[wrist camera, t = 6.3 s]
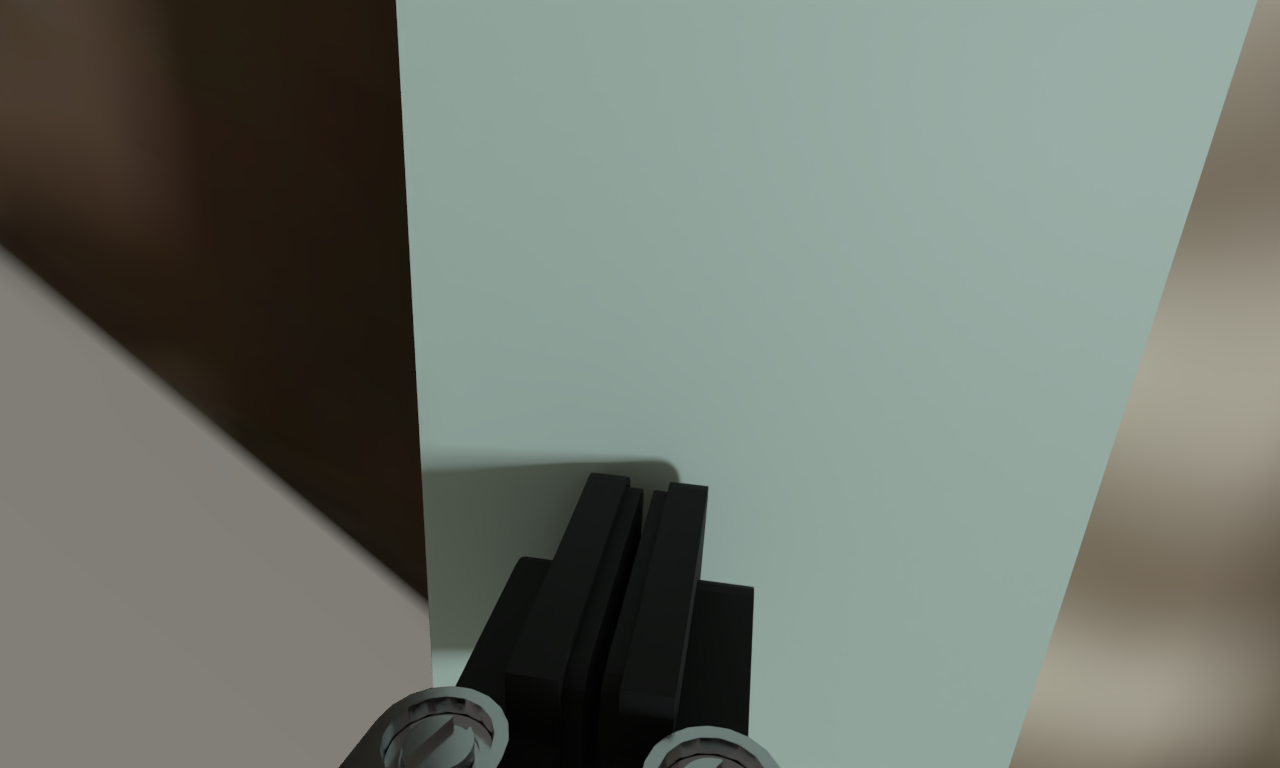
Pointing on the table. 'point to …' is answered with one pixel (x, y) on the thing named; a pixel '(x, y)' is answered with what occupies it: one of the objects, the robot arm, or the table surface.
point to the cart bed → (1188, 492)
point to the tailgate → (802, 316)
